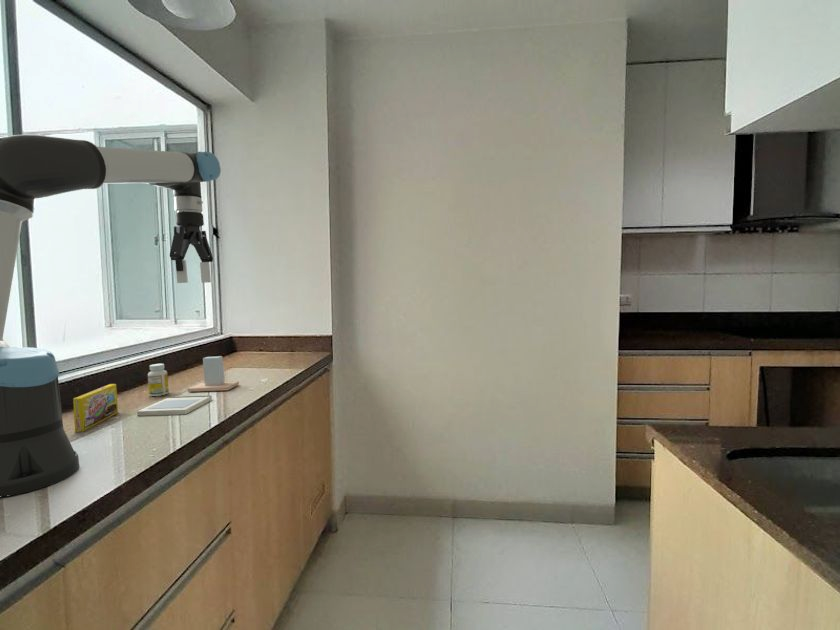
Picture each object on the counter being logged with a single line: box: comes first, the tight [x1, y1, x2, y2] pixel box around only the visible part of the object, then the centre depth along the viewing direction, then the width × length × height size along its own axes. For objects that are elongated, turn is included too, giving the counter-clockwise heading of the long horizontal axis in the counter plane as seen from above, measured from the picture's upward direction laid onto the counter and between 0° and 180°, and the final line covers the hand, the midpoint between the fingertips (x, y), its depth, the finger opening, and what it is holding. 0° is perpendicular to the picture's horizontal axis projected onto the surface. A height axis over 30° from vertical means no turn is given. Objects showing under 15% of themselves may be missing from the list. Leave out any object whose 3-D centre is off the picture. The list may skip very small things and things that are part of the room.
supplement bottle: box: [147, 363, 170, 397], centre depth 141 cm, size 5×5×10 cm
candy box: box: [72, 383, 119, 433], centre depth 114 cm, size 16×2×8 cm, turn 8°
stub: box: [187, 355, 240, 393], centre depth 145 cm, size 8×13×10 cm, turn 88°
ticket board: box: [136, 395, 213, 417], centre depth 125 cm, size 14×13×1 cm
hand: (195, 282), depth 137 cm, fingers open, 13 cm apart
